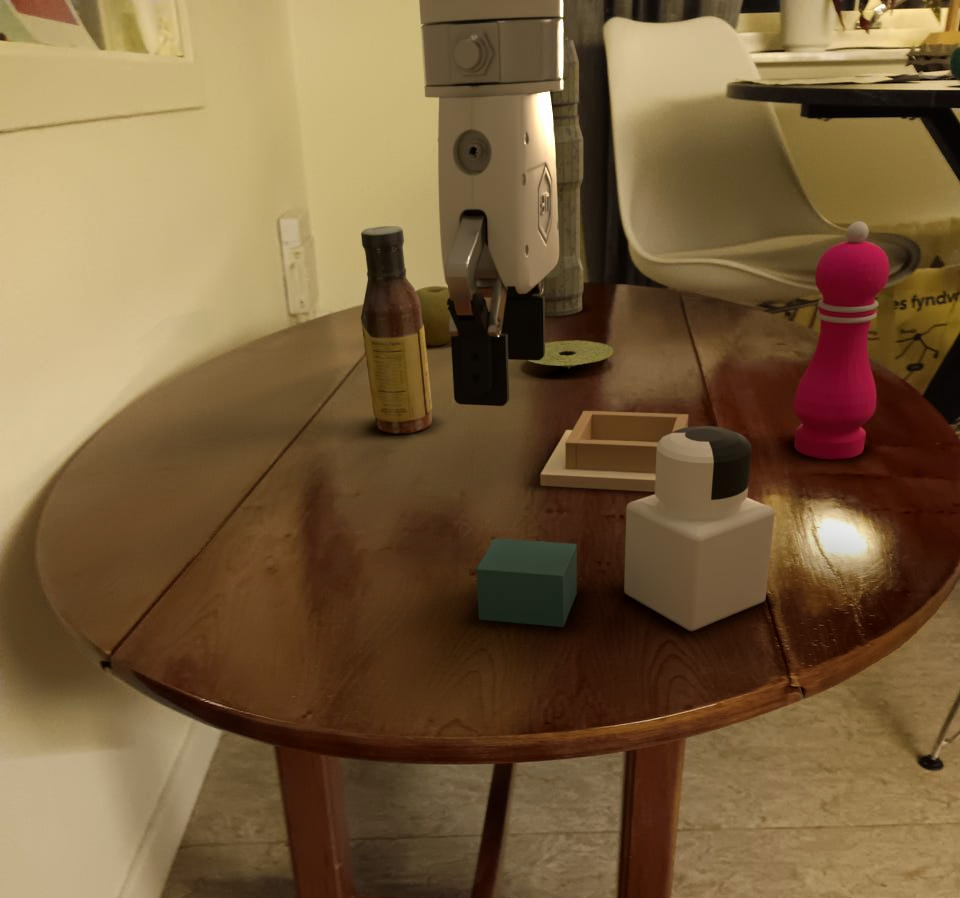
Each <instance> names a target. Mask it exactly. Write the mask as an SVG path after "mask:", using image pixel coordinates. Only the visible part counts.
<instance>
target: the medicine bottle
mask: <svg viewBox="0 0 960 898" xmlns="http://www.w3.org/2000/svg"><path fill="white" fill-rule="evenodd" d="M752 448H753V447H752V444H751V443H750V442H749V440H748V439H747V437H745V436H744V435H743V434H741V433H739V432H735V431H733V430H731V429H728V428H725V427H720V426H712V425H692V426H688V427H686V428H682V429H679V430H676V431H673V432H670V433H668V434H666V435H665V436H663V437H662V439H661V440H660V441H659V442H658V443H657V453H656V477H655V492H654V494H651V495H648V496H645V497H643V498H640V499H636V500H633V501H630V502H628V503H627V505H626V507H625V508H626V509H625V510H626V511H625V544H624V545H625V546H624V581H623V582H624V586H623V591H624V594H625V595H626V596H628V597H630V598H631V599H633V600H635V601H637V602H638V603H640V604H642V605H644V606H645V607H647V608H649V609H651V610H653V611H654V612H656V613H658V614H659V615H661V616H663V617H665V618H666V619H668V620H670V621H671V622H673V623H675V624H677V625H678V626H680V627H681V628H684V629H685V630H687V631H689V632H694V631H698V630H699V629H702V628H704V627H707V626H709V625H711V624H714V623H716V622H718V621H721V620H723V619H726V618H728V617H730V616H733V615H736V614H738V613H740V612H743V611H745V610H748V609H750V608H752V607H755V606H757V605H759V604H762V603H763V602H765V601H766V599H767V589H768V579H769V570H770V563H771V562H770V561H771V554H772V544H773V534H774V533H773V532H774V525H775V515H776V511H775V509H774V508H773V507H772V506H768V505H766V504H764V503H761V502H759V501H757V500H754V499H752V498H749V497H748V492H749V481H750V470H751V459H752Z"/></svg>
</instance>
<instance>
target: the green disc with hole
mask: <svg viewBox="0 0 960 898" xmlns="http://www.w3.org/2000/svg"><path fill="white" fill-rule="evenodd" d="M614 352H615V351H614V349H613V347H611V345H608V344H605V343H602V342H595V341H589V340H580V339H577V340H576V339H575V340H573V339H572V340H558V341H557V340H555V341H549V342H545V355H544V357H543V358H542V359H541V360H527V361H528V362H532V363H533V364H537V365H538V364H540V365H546V366H557V367H558V366H561V368H562V369H564V368H567V370H569V369H571V368H572V367H573V368H575V367H576V366H578V365H581V366H582V365H583V364H584V365H585V364H591V363H595V362H600V361H604V360H605V359H607V358H609V357H611V356H612V355H613V354H614Z"/></svg>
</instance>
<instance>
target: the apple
mask: <svg viewBox="0 0 960 898" xmlns="http://www.w3.org/2000/svg"><path fill="white" fill-rule="evenodd" d="M415 291H416V293H417V295H418V297H419V300H420V304H421V313H422V323H423V324H424V332H425V342H426V347H441V346H445V345H448V344H449V343H451V335H450V332H449V320H450V311H449V310H448V307H449V305H447V300H448V298H450V294H449V290H448V286H438V285H432V286H425V287H422V288H418V289H417V290H415Z"/></svg>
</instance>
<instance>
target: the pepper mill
mask: <svg viewBox="0 0 960 898" xmlns="http://www.w3.org/2000/svg"><path fill="white" fill-rule="evenodd" d="M869 233H870V231H869V227H868V225H867V224H866V222H863V221H860V220H859V221H855V222H852V223H851V224H850V225H849V226H848V228H847V229H846V233H845V234H846V235H845V236H846V239H847V241H846V240H845V241H842V242H839V243H837V244H836V243H835V244H834V245H833V246H830V247H829V248H828V249H827V250H826V251H825V252H824V253H823V254H822V255H821V256H820V258H819V260H818V263H817V266H816V269H815V277H814V281H815V285H816V288H817V290H818V291H819V292H820V294H821V295H822V298H821V299H819V300H818V302H817V306H818V310H817V311H816V317H817V318H818V319H820V327H819V335H818V340H817V344H816V348H815V350H814V353H813V355H812V359H811V361H810V362H809V364H808V366H807V368H806V369H805V371H804V373H803V375H802V376H801V378H800V380H799V383H798V386H797V388H796V390H795V393H794V397H793V404H792V405H793V406H792V407H793V411H794V414H795V415H796V417H797V418H798V420H799V421H800V422H801V424H799V425H798V426H797V427H796V428H795V434H794V442H793V443H794V444H793V445H794V449H795V450H796V451H797V452H798V453H800V454H802V455H804V456H806V457H811V458H815V459H820V460H822V459H823V460H844V459H845V460H846V459H851V458H854V457H855V458H856V457H857V456H859V455H861V454H862V453H863V451H864V448H865V442H866V435H867V433H866V430H865V429H864V428H863V427H862V426H864V425H865V424H866V423H867V422H868V421H869V420H871V418H872V417H873V416H874V414H875V412H876V409H877V387H876V382H875V378H874V375H873V371H872V367H871V363H870V360H869V352H868V342H869V341H868V340H869V331H870V326H871V322H872V321H873V320H875V319H876V317H877V316H878V314H877V308H878V307H879V301H877V300H876V297H877V296H878V294H879V293H880V292H882V291H883V290H884V288H885V287H886V285H887V283H888V281H889V277H890V262H889V256H887V254H886V252H885V250H884V249H882V247H880V246H879V245H877V244H876V243H873V242H869V241H866V239H867V238H868V236H869Z"/></svg>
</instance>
